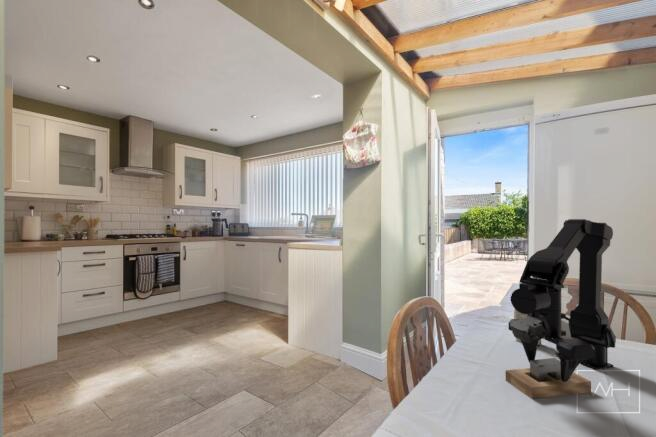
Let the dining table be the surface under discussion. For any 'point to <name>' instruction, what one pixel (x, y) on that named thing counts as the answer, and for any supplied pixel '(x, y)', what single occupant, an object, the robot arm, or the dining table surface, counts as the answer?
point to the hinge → (566, 327)
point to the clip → (545, 369)
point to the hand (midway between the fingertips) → (546, 371)
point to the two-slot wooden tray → (546, 384)
